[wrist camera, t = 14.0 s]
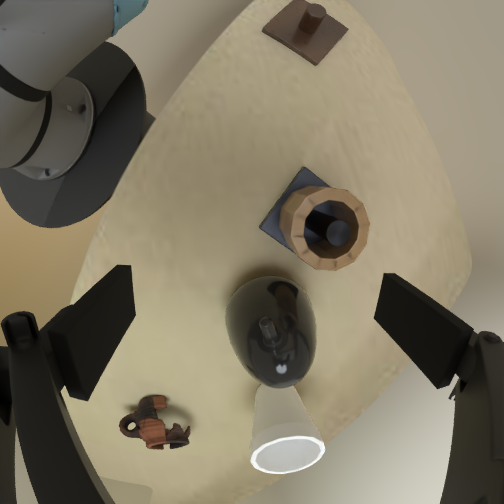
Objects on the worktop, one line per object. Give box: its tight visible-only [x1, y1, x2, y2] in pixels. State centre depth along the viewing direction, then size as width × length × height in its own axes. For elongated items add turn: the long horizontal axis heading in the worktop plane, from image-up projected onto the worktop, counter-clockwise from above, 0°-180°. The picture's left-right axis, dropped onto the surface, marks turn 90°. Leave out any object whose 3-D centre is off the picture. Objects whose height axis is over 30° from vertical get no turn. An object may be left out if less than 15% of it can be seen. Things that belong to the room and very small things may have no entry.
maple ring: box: [279, 186, 370, 271], centre depth 30 cm, size 8×8×7 cm
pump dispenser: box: [225, 276, 317, 389], centre depth 29 cm, size 10×10×15 cm
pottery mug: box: [119, 396, 190, 450], centre depth 38 cm, size 12×10×8 cm
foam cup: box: [249, 384, 325, 474], centre depth 34 cm, size 10×9×13 cm
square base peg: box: [259, 167, 351, 254], centre depth 29 cm, size 9×9×10 cm
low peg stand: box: [262, 0, 349, 66], centre depth 25 cm, size 8×8×6 cm
